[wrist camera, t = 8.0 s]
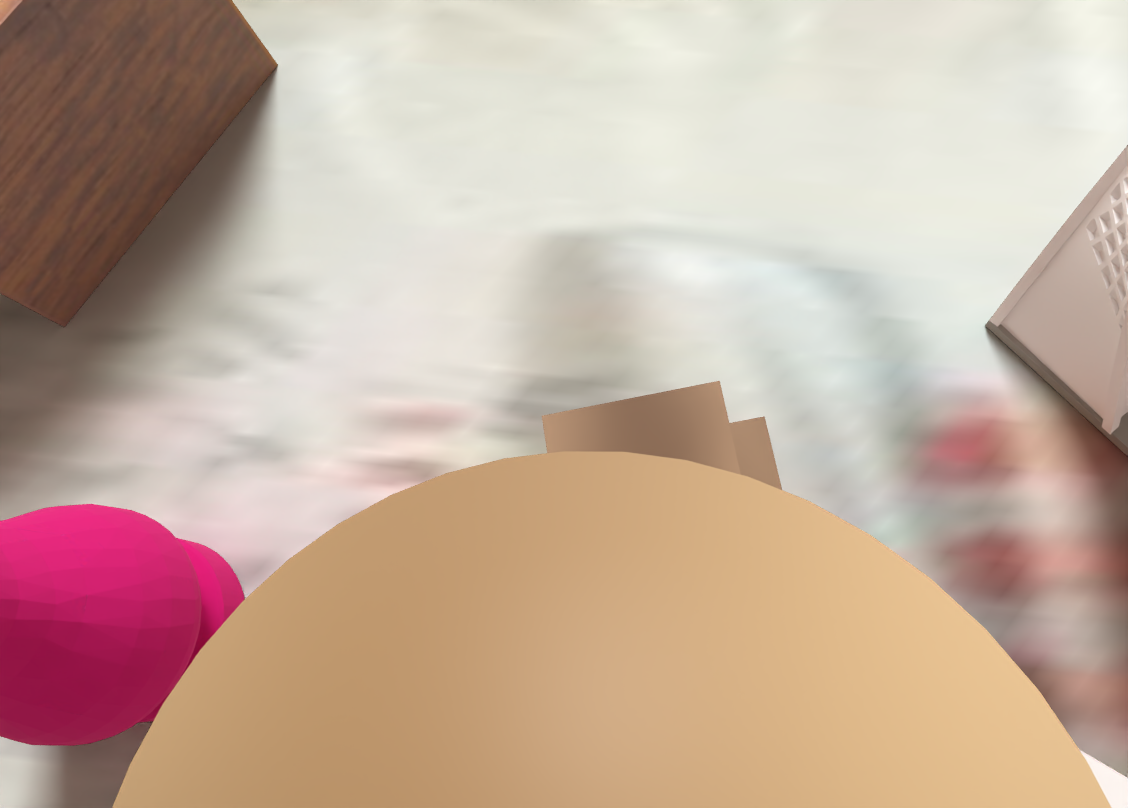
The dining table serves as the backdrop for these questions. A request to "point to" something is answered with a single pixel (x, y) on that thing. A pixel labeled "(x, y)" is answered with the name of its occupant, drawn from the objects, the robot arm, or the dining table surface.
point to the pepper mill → (100, 620)
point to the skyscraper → (1080, 308)
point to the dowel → (603, 661)
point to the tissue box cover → (106, 129)
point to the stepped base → (669, 431)
